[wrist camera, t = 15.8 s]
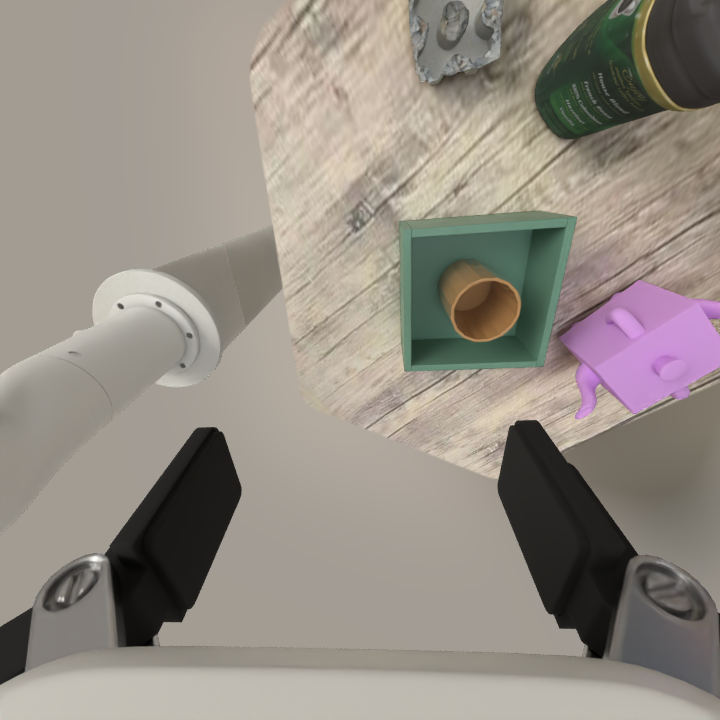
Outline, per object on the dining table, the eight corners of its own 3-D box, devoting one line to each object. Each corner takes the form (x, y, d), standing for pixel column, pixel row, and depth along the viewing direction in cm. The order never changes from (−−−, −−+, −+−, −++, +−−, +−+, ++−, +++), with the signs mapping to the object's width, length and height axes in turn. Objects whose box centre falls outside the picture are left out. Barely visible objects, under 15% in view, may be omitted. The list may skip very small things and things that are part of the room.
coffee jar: (563, 156, 33) (739, 129, 17) (517, 91, 31) (669, -12, 15) (660, 63, 29) (1008, -87, 13) (616, -19, 27) (968, -322, 11)
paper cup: (436, 312, 41) (449, 343, 33) (438, 260, 38) (453, 280, 30) (489, 310, 41) (515, 340, 33) (495, 256, 38) (526, 275, 30)
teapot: (576, 267, 38) (640, 295, 29) (692, 271, 38) (797, 301, 28) (538, 375, 46) (579, 426, 36) (635, 380, 45) (703, 433, 36)
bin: (401, 342, 44) (404, 371, 38) (399, 221, 37) (403, 229, 30) (517, 338, 43) (543, 367, 36) (540, 210, 36) (577, 216, 29)
